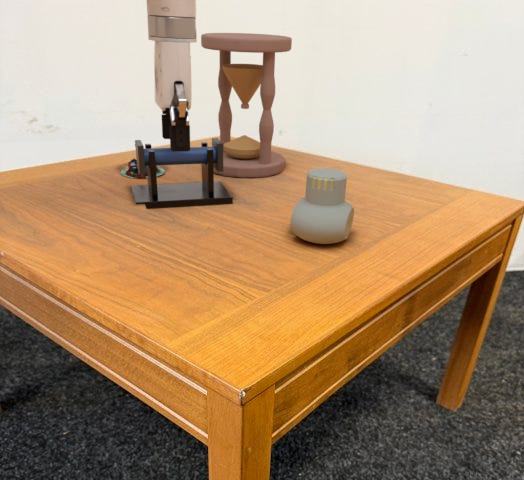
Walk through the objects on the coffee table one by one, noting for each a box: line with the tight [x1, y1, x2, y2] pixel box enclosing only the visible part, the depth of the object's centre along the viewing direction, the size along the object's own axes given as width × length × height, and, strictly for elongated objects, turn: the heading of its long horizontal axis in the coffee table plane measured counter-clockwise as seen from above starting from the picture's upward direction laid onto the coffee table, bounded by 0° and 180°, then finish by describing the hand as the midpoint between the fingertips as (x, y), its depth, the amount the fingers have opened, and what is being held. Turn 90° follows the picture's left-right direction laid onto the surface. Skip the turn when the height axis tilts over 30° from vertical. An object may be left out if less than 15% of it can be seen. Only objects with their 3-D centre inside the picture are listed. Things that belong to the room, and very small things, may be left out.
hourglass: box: [200, 32, 293, 179], centre depth 113 cm, size 18×18×25 cm
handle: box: [134, 137, 223, 175], centre depth 96 cm, size 15×5×5 cm, turn 106°
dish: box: [120, 157, 166, 180], centre depth 113 cm, size 8×7×8 cm
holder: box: [130, 141, 234, 210], centre depth 98 cm, size 17×10×9 cm, turn 106°
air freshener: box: [290, 167, 355, 245], centre depth 83 cm, size 11×8×10 cm
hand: (175, 144), depth 95 cm, fingers open, 9 cm apart
